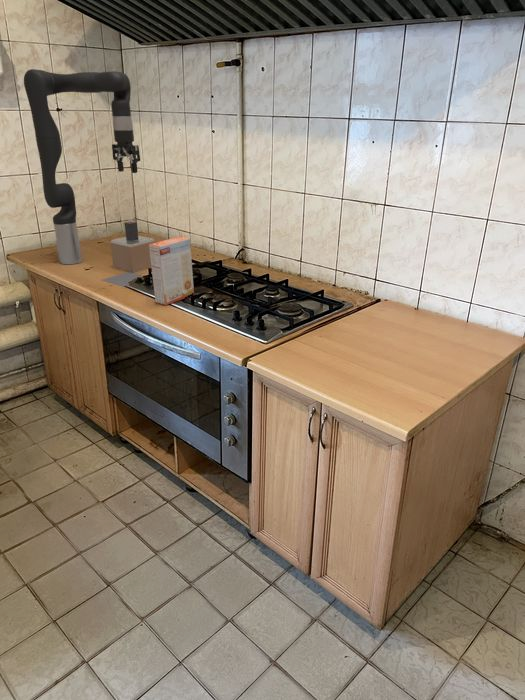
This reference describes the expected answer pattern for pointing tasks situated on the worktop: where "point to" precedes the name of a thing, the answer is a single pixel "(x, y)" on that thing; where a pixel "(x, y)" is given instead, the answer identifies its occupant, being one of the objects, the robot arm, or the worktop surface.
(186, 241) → the cracker box
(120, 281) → the mat
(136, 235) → the lid
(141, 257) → the open storage bin
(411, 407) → the worktop surface
